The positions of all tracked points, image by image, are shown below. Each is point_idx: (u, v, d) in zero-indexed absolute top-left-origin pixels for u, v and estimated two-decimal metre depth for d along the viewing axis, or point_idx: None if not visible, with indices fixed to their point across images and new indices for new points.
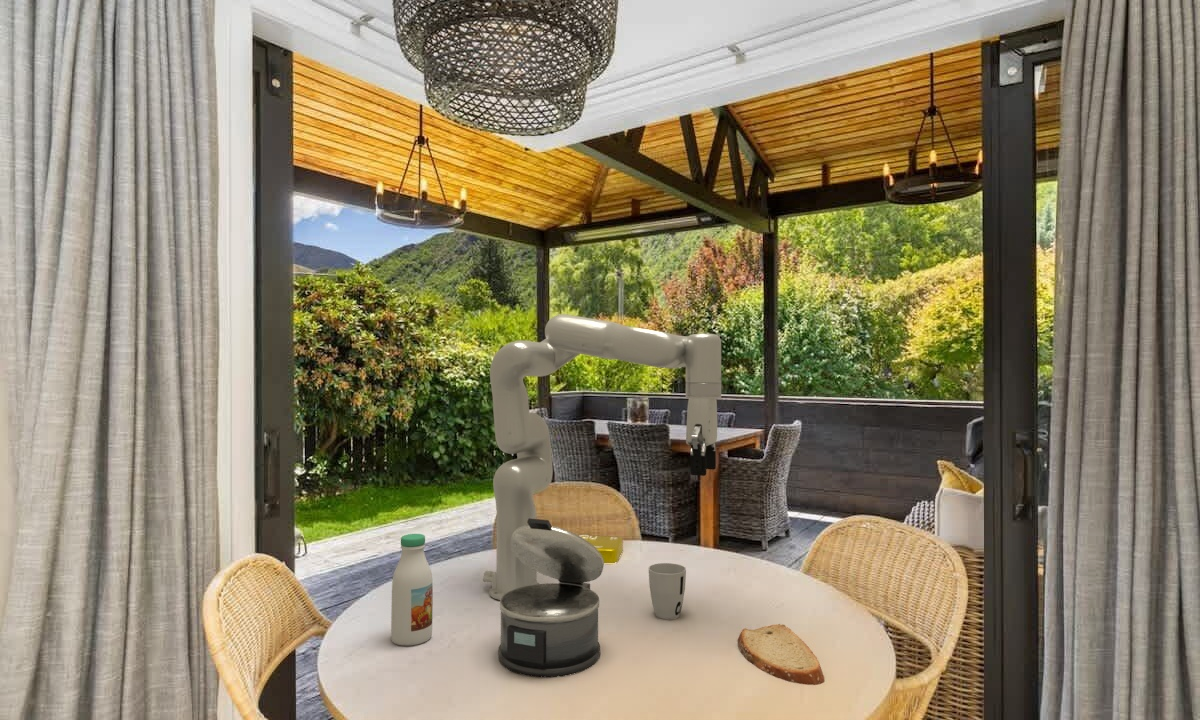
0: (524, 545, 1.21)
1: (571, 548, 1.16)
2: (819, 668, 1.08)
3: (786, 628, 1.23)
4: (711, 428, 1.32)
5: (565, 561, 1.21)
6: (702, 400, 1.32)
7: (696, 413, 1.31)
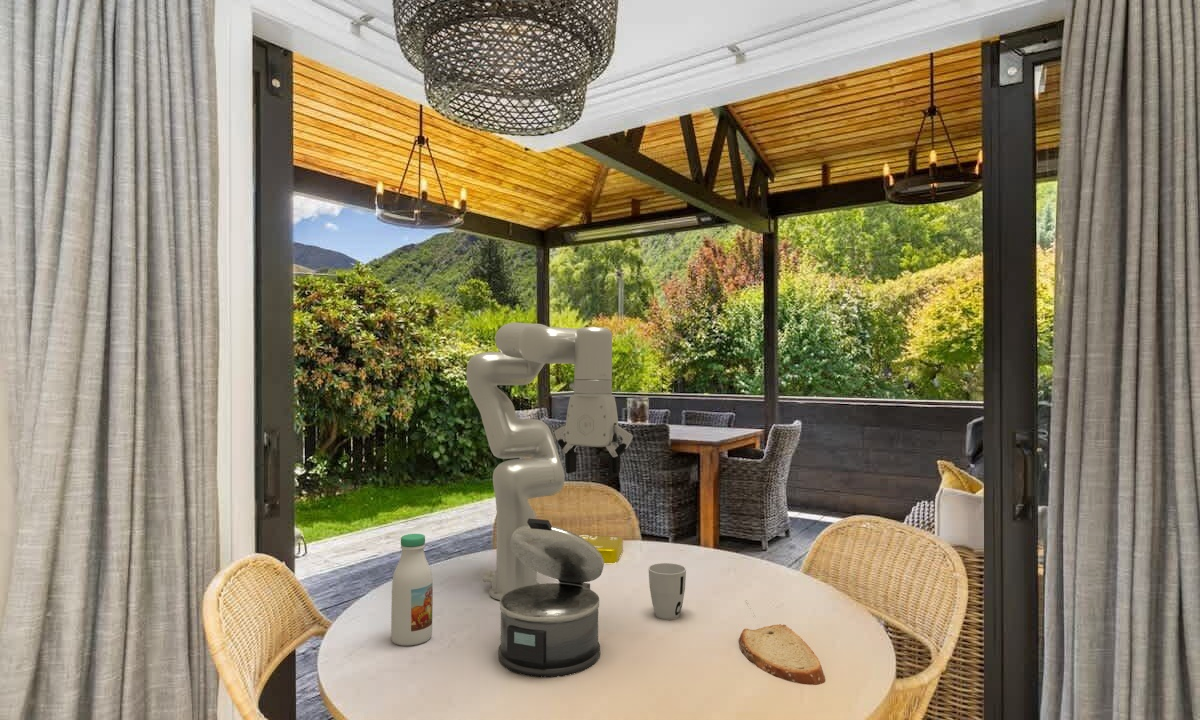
0: (524, 545, 1.21)
1: (571, 548, 1.16)
2: (820, 668, 1.08)
3: (787, 628, 1.23)
4: None
5: (565, 561, 1.21)
6: (614, 398, 1.26)
7: (613, 412, 1.25)
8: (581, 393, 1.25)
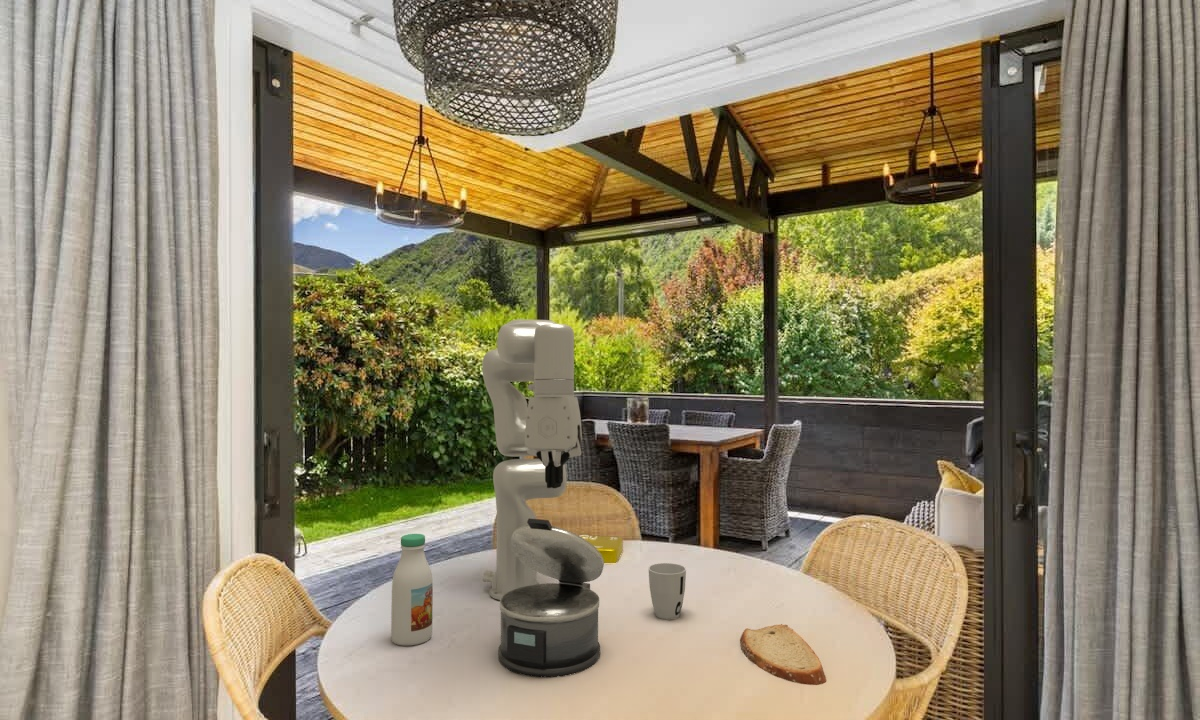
0: (524, 545, 1.21)
1: (571, 548, 1.16)
2: (821, 668, 1.08)
3: (789, 628, 1.23)
4: None
5: (565, 561, 1.21)
6: (576, 398, 1.20)
7: (577, 413, 1.18)
8: (543, 393, 1.17)
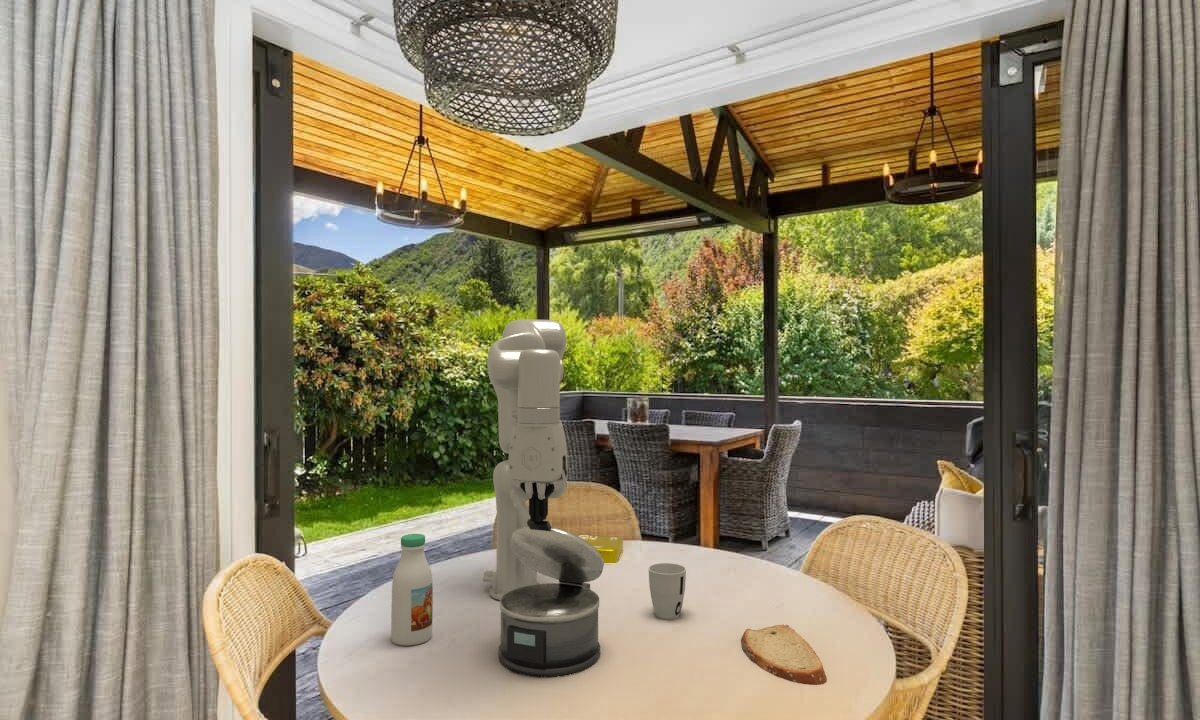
0: (524, 546, 1.21)
1: (571, 549, 1.16)
2: (821, 668, 1.08)
3: (790, 628, 1.23)
4: None
5: (565, 562, 1.21)
6: (562, 427, 1.14)
7: (562, 443, 1.12)
8: (526, 423, 1.11)
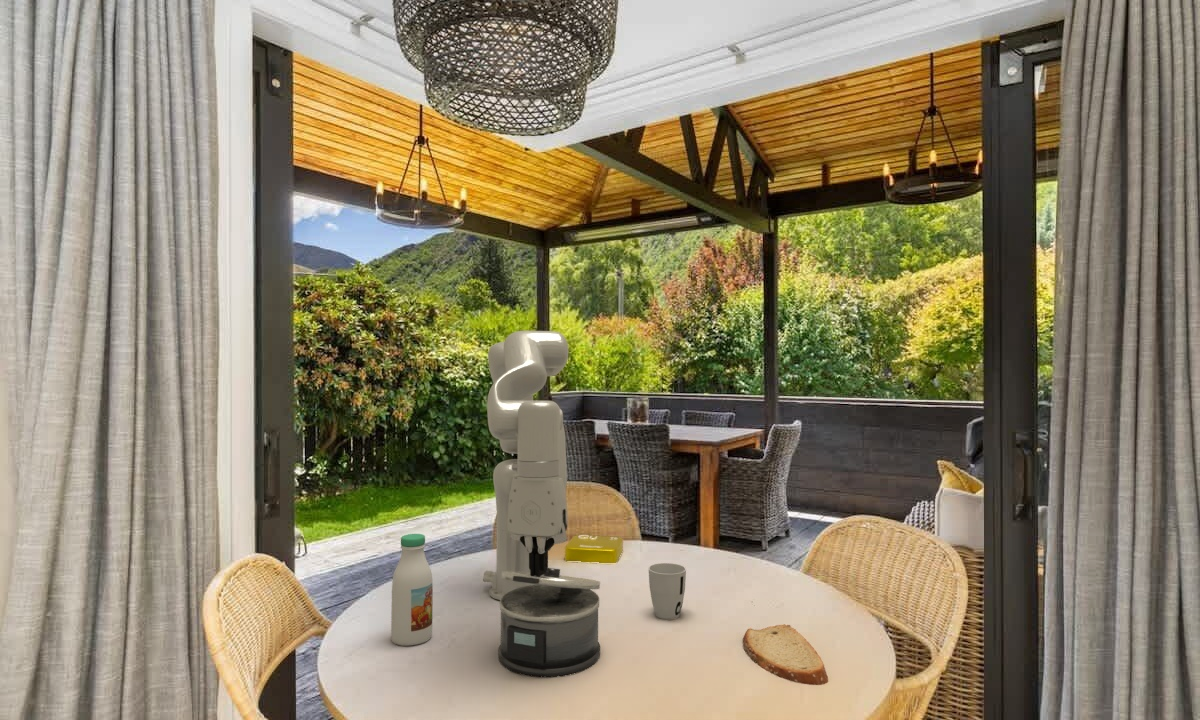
0: None
1: None
2: (823, 668, 1.08)
3: (791, 628, 1.23)
4: None
5: None
6: (562, 480, 1.13)
7: (562, 497, 1.12)
8: (526, 477, 1.11)
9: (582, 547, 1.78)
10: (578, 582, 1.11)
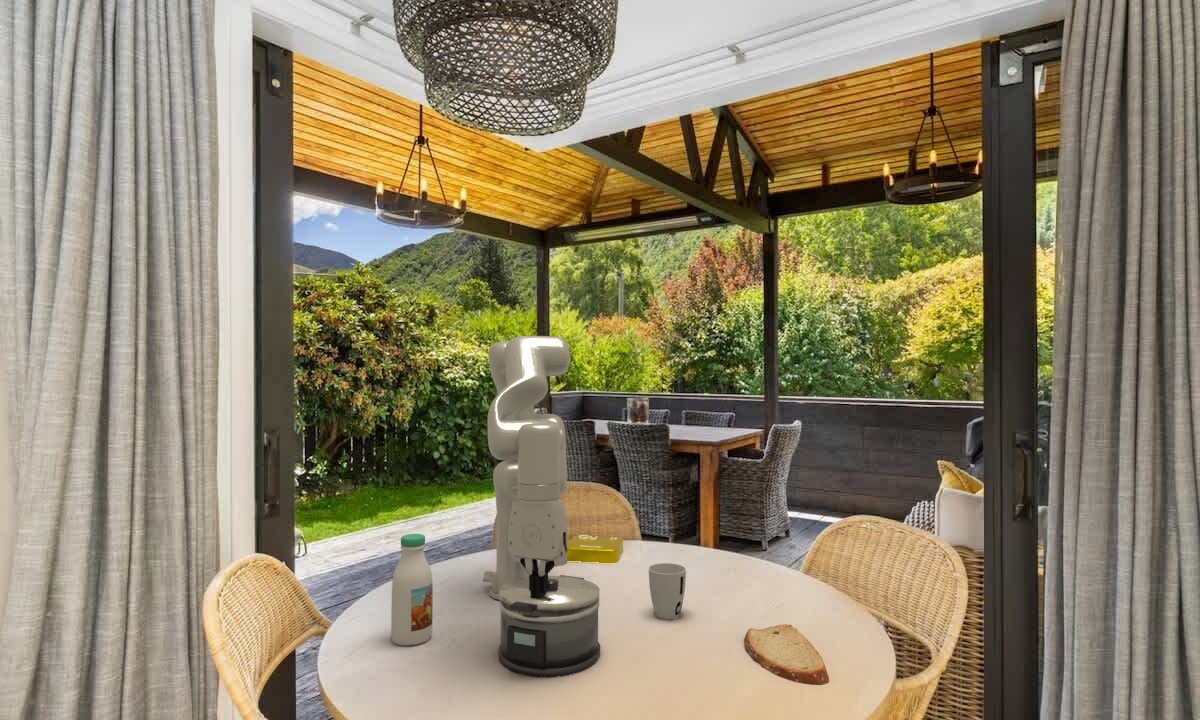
0: None
1: None
2: (824, 668, 1.08)
3: (793, 628, 1.23)
4: None
5: None
6: (562, 503, 1.13)
7: (562, 519, 1.12)
8: (526, 500, 1.11)
9: (582, 547, 1.78)
10: (576, 602, 1.11)
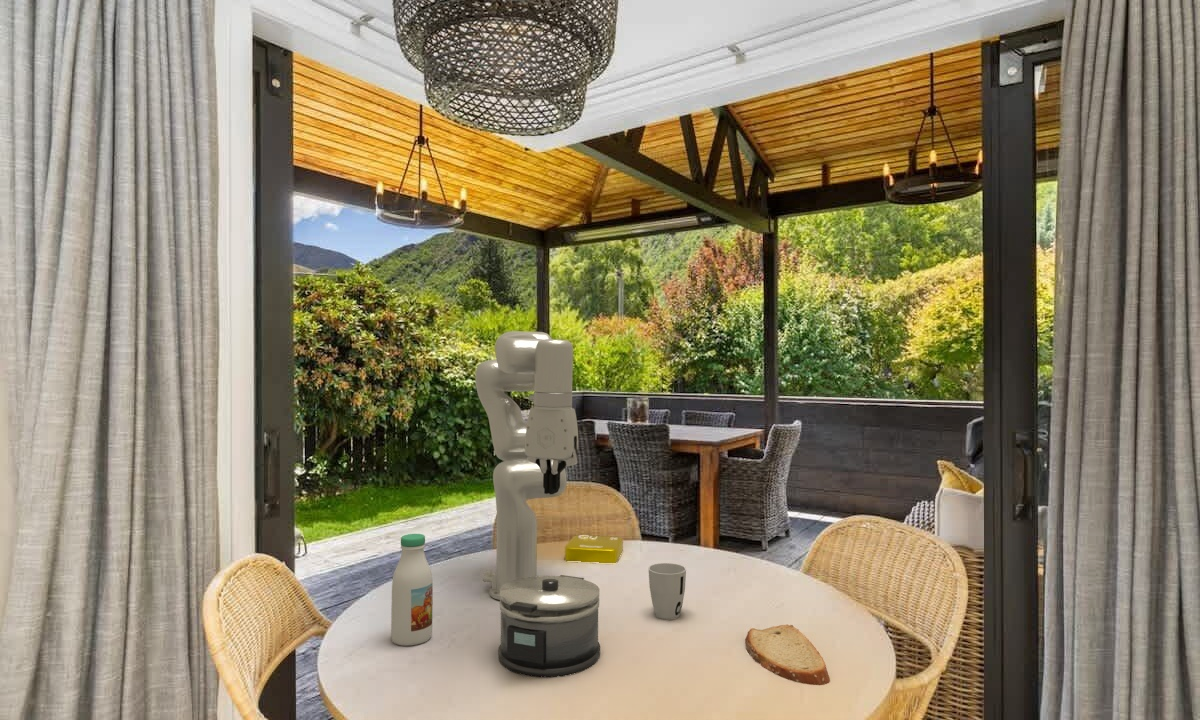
0: None
1: None
2: (824, 669, 1.08)
3: (794, 628, 1.23)
4: None
5: None
6: (574, 410, 1.26)
7: (574, 425, 1.25)
8: (541, 406, 1.24)
9: (582, 547, 1.78)
10: (576, 602, 1.11)
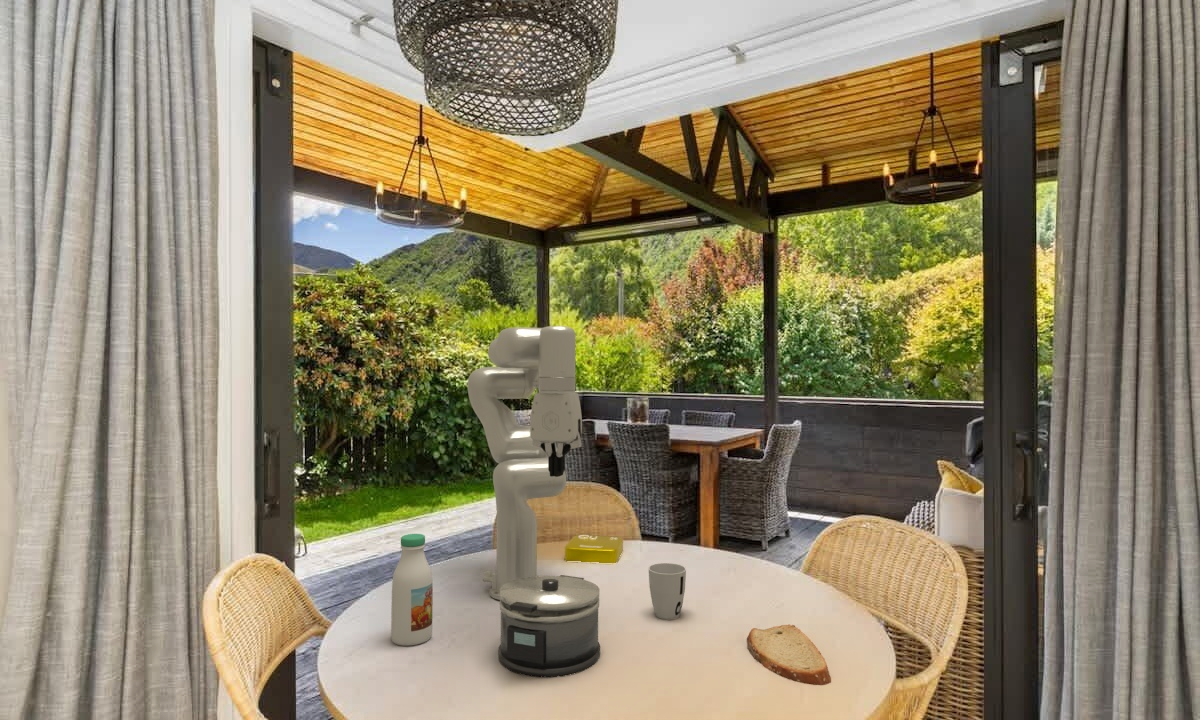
0: None
1: None
2: (826, 669, 1.08)
3: (796, 628, 1.23)
4: None
5: None
6: (577, 395, 1.30)
7: (577, 408, 1.29)
8: (546, 390, 1.28)
9: (582, 547, 1.78)
10: (576, 602, 1.11)
